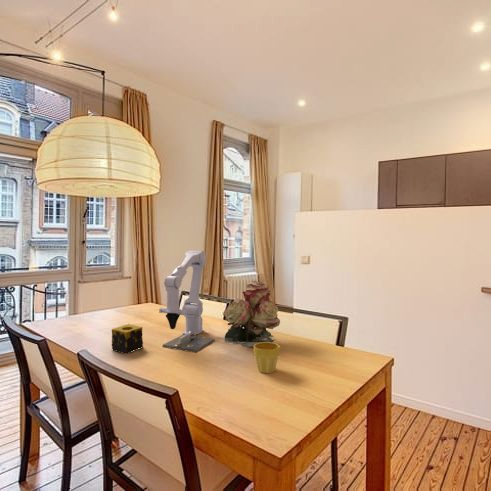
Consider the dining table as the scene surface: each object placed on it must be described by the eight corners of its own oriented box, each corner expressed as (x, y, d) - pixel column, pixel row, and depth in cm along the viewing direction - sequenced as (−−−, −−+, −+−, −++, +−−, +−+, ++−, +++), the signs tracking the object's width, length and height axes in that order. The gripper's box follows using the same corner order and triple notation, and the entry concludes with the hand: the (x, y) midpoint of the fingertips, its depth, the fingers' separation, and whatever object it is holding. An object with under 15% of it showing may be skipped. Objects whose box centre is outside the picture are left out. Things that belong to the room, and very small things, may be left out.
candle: (128, 344, 171) (128, 323, 170) (143, 347, 166) (143, 326, 165) (111, 350, 162) (110, 328, 162) (126, 354, 157) (126, 332, 156)
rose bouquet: (217, 344, 171) (217, 282, 170) (245, 329, 197) (245, 275, 196) (266, 353, 159) (266, 287, 158) (289, 336, 185) (289, 279, 184)
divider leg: (189, 335, 179) (189, 330, 179) (195, 336, 178) (195, 330, 178) (176, 344, 166) (176, 338, 166) (182, 345, 165) (182, 339, 165)
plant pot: (263, 363, 148) (263, 339, 147) (284, 369, 141) (284, 345, 141) (248, 370, 140) (248, 346, 139) (269, 377, 133) (269, 352, 133)
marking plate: (183, 336, 184) (183, 332, 183) (214, 340, 177) (214, 336, 176) (162, 346, 167) (162, 342, 167) (195, 352, 160) (195, 347, 160)
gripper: (155, 300, 169) (155, 328, 170) (181, 303, 164) (181, 332, 164) (164, 298, 176) (164, 325, 177) (189, 300, 170) (189, 328, 171)
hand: (172, 328), depth 171 cm, fingers closed
